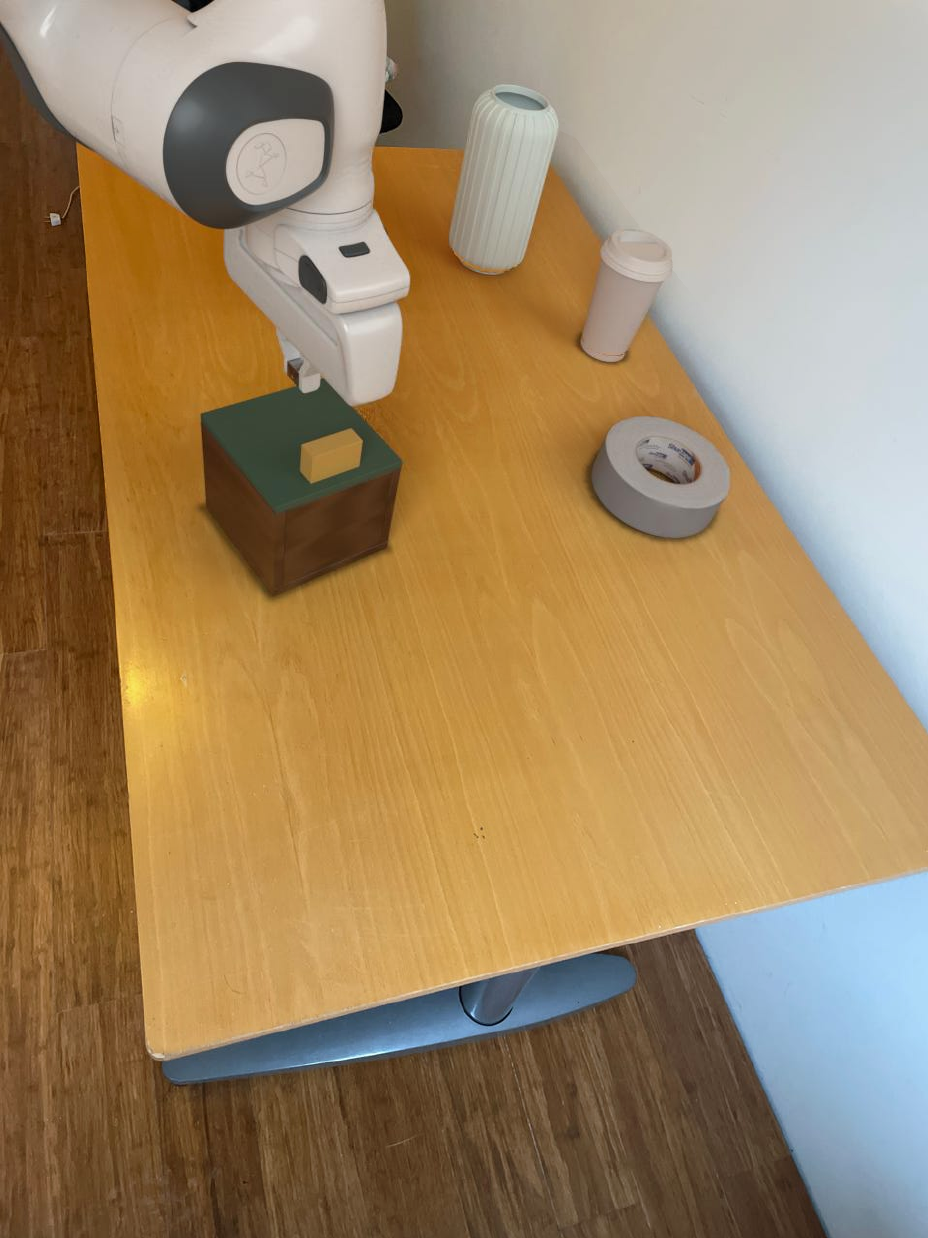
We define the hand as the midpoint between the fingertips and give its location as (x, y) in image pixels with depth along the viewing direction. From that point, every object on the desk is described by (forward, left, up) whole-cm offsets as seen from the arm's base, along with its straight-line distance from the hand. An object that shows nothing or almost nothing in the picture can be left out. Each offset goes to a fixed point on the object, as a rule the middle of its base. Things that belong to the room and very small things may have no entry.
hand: (301, 381), depth 69 cm
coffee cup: (+55, +9, -18) cm, 58 cm away
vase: (+52, +33, -18) cm, 64 cm away
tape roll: (+40, -15, -18) cm, 46 cm away
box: (0, -1, -17) cm, 17 cm away
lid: (0, -1, -6) cm, 6 cm away
